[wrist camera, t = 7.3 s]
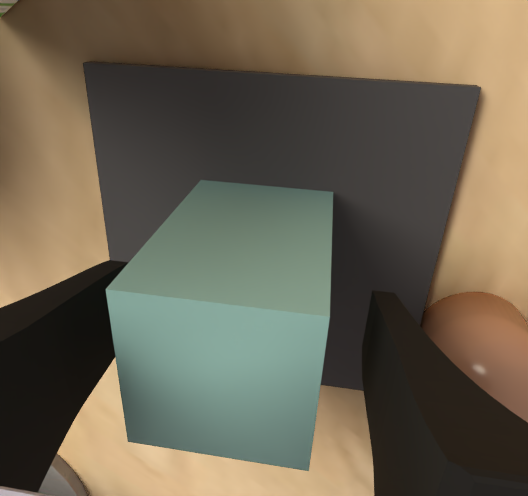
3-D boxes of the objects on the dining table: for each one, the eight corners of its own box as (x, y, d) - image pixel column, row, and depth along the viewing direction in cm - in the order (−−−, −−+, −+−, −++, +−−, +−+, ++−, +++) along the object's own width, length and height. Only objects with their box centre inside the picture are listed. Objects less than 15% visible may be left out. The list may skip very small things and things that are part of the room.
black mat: (400, 387, 18) (401, 395, 18) (128, 349, 20) (123, 357, 19) (476, 84, 13) (481, 87, 12) (90, 61, 14) (82, 62, 14)
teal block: (319, 304, 17) (308, 471, 10) (203, 290, 17) (128, 441, 11) (333, 191, 14) (329, 316, 8) (200, 179, 15) (105, 289, 9)
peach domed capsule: (506, 381, 18) (548, 471, 14) (404, 367, 18) (420, 451, 15) (540, 298, 16) (598, 377, 12) (425, 285, 16) (449, 358, 13)
